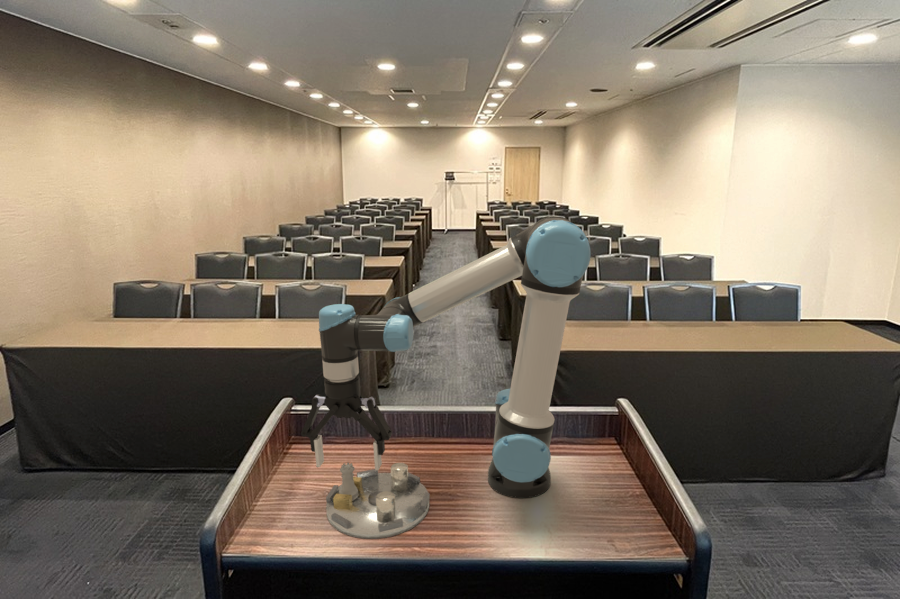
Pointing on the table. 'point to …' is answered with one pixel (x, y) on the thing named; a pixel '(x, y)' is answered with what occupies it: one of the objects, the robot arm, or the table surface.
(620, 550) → the table surface
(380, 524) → the carrier plate
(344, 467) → the rook chess piece
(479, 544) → the table surface
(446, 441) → the table surface
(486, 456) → the table surface
